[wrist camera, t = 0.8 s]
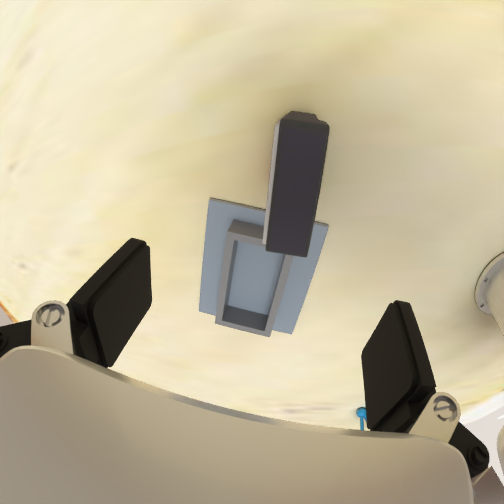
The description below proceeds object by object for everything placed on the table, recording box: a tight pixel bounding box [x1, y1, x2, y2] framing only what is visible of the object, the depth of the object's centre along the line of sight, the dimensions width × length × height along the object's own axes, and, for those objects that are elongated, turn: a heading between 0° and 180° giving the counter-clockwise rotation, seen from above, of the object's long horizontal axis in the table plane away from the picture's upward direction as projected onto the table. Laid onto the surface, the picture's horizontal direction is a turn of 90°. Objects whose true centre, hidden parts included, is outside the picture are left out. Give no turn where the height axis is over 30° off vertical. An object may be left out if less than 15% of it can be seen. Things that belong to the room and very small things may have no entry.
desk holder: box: [199, 198, 328, 337], centre depth 42 cm, size 16×20×4 cm
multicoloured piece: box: [262, 111, 329, 258], centre depth 28 cm, size 11×4×15 cm, turn 175°
